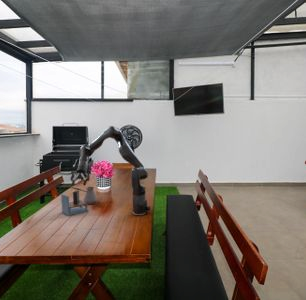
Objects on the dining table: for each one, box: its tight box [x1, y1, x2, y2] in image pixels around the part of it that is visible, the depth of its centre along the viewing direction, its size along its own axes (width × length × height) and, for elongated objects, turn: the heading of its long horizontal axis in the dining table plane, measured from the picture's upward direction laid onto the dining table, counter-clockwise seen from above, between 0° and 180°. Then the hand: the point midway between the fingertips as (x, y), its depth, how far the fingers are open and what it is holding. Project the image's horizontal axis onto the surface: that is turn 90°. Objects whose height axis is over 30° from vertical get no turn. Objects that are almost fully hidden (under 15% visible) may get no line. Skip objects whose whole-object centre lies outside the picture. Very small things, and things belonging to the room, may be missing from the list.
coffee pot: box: [70, 186, 99, 205], centre depth 209 cm, size 21×12×15 cm, turn 113°
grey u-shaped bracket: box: [61, 193, 89, 217], centre depth 190 cm, size 15×11×14 cm
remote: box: [72, 190, 80, 204], centre depth 190 cm, size 4×3×9 cm
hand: (78, 185), depth 194 cm, fingers open, 8 cm apart
